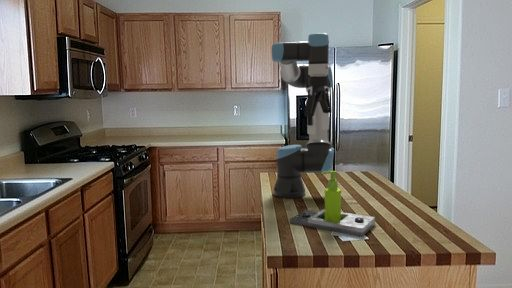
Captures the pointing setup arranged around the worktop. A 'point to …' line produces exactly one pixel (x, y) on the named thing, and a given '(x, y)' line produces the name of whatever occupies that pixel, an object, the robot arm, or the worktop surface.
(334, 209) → the soap dispenser
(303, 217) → the lower link
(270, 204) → the worktop surface
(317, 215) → the upper link
